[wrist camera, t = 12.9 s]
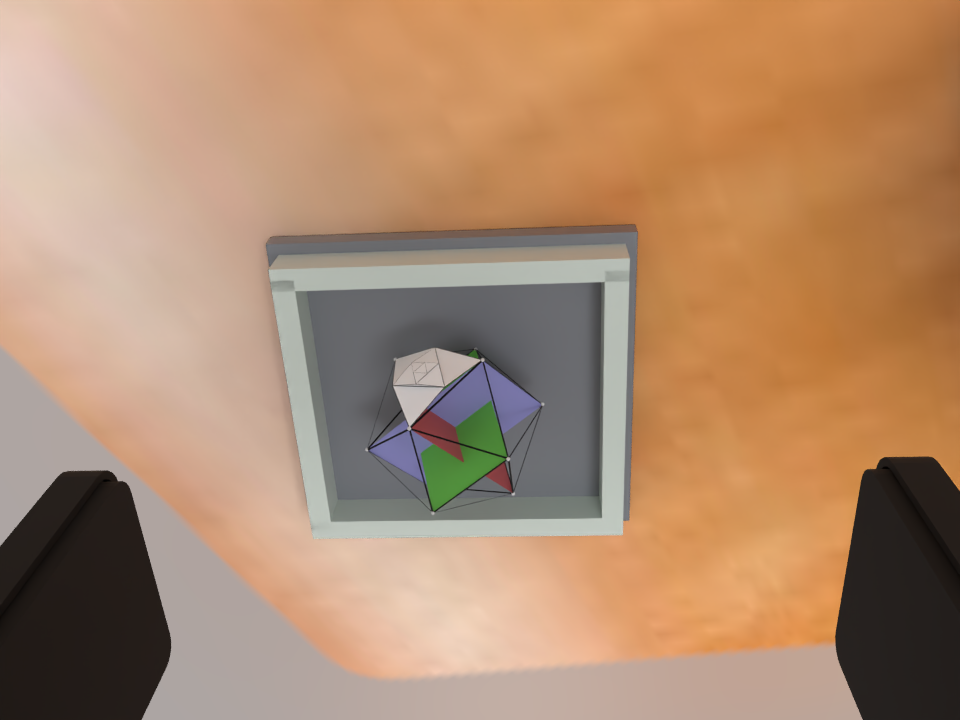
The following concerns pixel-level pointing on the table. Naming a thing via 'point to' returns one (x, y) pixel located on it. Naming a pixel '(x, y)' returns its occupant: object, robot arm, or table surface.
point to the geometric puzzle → (453, 422)
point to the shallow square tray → (462, 326)
